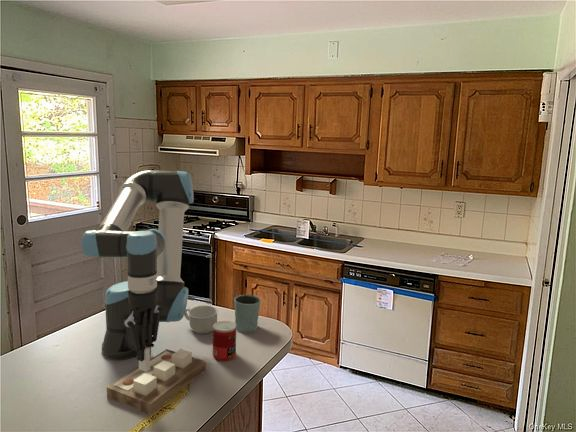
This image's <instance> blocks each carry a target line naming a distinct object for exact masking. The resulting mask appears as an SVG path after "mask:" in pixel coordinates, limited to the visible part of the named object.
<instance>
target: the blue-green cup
mask: <svg viewBox="0 0 576 432" xmlns="http://www.w3.org/2000/svg"><path fill="white" fill-rule="evenodd" d="M233 300H234V301H233V303H234V317H235V318H234V323H235V324H236V332H239V333H244V334H247V333H254V332H255V331H256V330H257V329H258V323H259V322H258V321H259V315H260V314H259V313H260V307H261V297H259V296H257V295H254V294H240V295H237V296H235V297H234V298H233Z"/></svg>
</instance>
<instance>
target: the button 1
mask: <svg viewBox="0 0 576 432" xmlns="http://www.w3.org/2000/svg"><path fill="white" fill-rule="evenodd" d="M156 388H157V377H155V376H152V375H149V374H146V373H144V374H142V375H141V376H139V377H138V378H136V379H135V380H133V390H134V392H135V393H138V394H141V395H143V396H147V395H148V394H150V393H151V392H152V391H154V390H155V389H156Z"/></svg>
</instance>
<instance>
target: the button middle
mask: <svg viewBox="0 0 576 432" xmlns="http://www.w3.org/2000/svg"><path fill="white" fill-rule="evenodd" d="M153 368H154V376H155V377H157V379H159V380H162V381H165V382H166V381H167V380H169V379H170V378H171V377H173V376H174V375H175V364H173V363H170V362H167V361H164V360H163V361H162V362H160V363H159V364H157V365H156V366H154V367H153Z"/></svg>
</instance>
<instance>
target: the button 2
mask: <svg viewBox="0 0 576 432" xmlns="http://www.w3.org/2000/svg"><path fill="white" fill-rule="evenodd" d="M192 355H193V353H192V351H188V350H185V349H182V348H180V349H179V350H177V351H175V353H174V354H172V363H173V364H175V366H176V367H179V368H182V369H184V368H185V367H186V366H188V365H189V364H190V363H192V357H193V356H192Z"/></svg>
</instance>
